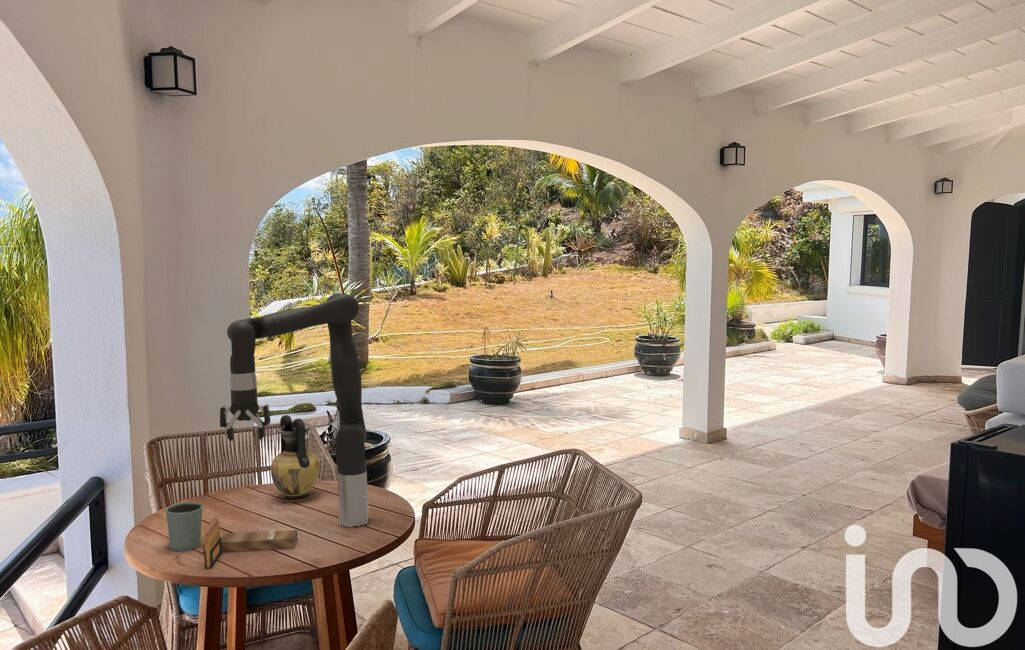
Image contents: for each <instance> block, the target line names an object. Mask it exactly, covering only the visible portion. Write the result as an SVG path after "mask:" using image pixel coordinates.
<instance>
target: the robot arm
mask: <svg viewBox="0 0 1025 650" xmlns="http://www.w3.org/2000/svg"><path fill="white" fill-rule="evenodd" d="M359 311H360V305H359V302H358V300H357V299H356V298H355V297H354V296H352V295H351V294H348V293H340V292H339V293H338V292H337V293H332V294H331V295H330V296H329V297H327V298H326V300H325V302H322V303H319V304H315V305H311V306H305V307H300V308H299V307H298V308H292V309H287V310H286V309H285V310H282V311H281V310H280V311H276V312H272V313H268V314H265V315H262V316H256V317H248V318H244V319H238V320H235V321H233V322H232V323H230V324H229V325H228V327H227V330H226V334H227V337H228V339H229V340H230V342H231V345H230V346H231V355H230V357H229V365H230V366H229V368H230V369H229V371H230V376H229V377H230V379H229V388H230V406H225V405H223V406H222V407H221V408H220V409H219V426H220V428H225V429H226V435H227V439H228V440H229V442H233V441H234V439H235V437H234V427H233V425H234V424H235V423H236V422H237V421H239V422H242V421H243V422H244V421H247V422H249V421H251V420H252V422H253V423H254V424H256V426H258V428H257V431H258V440H260V441H261V440H263V438H264V437H265V427H266V426H269V425H270V424H271V414H270V405H269V404H264V405H259V403H258V386H257V385H258V383H257V382H258V380H257V374H256V360H255V352H256V342H257V341H256V340H258V339H261V338H274V337H277V336H282V335H285V334H290V333H294V332H297V331H301V330H304V329H308V328H311V327H315V326H321V325H326V324H327V328H328V329H327V330H328V334H329V353H330V354H329V355H330V368H331V380H332V382H331V383H332V386H333V390H334V391H333V392H334V395H335V397H336V400H337V404H338V409H339V426H338V427H339V428H338V431H337V432H336V434H335V440H334V442H335V443H334V445H335V460H336V467H337V485H338V486H337V490H338V514H339V516H338V521H339V526H341V525H342V526H341V527H344V526H345V527H344V528H354V527H353V526H358V527H361V526H360V525H362V526H365V525H364V524H367V525H368V524H369V518H370V517H369V514H370V513H369V491H368V475H367V474H368V471H367V465H368V464H367V462H366V450H365V449H366V445H365V444H366V443H365V442H366V439H367V429H366V424H365V419H364V413H363V412H364V411H363V406H362V395H363V392H362V390H363V389H362V387H363V386H362V370H361V363H360V357H359V353H358V351H357V348H356V344H355V341H354V339H353V332H352V321H353V320H354V319H355V318H357V316H358V314H359ZM259 411H260V412H261V413H262V414H263V418H264V419H263V420H264V421H263V420H262V419H261V417H260V416H259V415H258V412H259ZM229 412H230V413H231V415H232V417H231V419H230V420H229V422H227V414H229ZM351 526H352V527H351Z"/></svg>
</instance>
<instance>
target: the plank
mask: <svg viewBox="0 0 1025 650" xmlns="http://www.w3.org/2000/svg"><path fill="white" fill-rule="evenodd" d="M220 537H221V546H222V553H234V552H250V551H251V552H252V551H255V552H256V551H269V550H270V551H272V550H273V549H274V550H287V549H289V550H290V549H294V548H295V547H296V544H297V543H298V539H299V538H298V529H293V530H290V529H289V530H277V529H276V530H275V529H273V530H270V531H255V532H254V531H252V532H236V533H235V532H233V533H224V532H220ZM271 549H272V550H271ZM202 550H203V552H202V553H203V554H204V551H205V541H204V542H203V544H202Z"/></svg>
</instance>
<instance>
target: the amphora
mask: <svg viewBox="0 0 1025 650" xmlns="http://www.w3.org/2000/svg"><path fill="white" fill-rule="evenodd" d="M279 421H280V422H279V427H278V428H277V429H276V432H277V433H279V434H280V441H281V442H280V443H281V445H280V446H281V448H280V450H281V451H280V453H278V454H277V455H276V456H275V457H274V458H273V459H272V462H271V465H270V474H271V475H270V476H271V479H272V482H273V484H274V485H275V487H276V489H278V491H280V493H282V494H283V495H284V496H283V499H284V501H285V502H293V503H295V502H302V501H305V500H308V499H309V498H310V497H311V493H310V492H311V490H312V489H313V488H314V486H315V485H316V483H317V481H318V479H319V476H320V468H321V467H320V465H321V464H320V460H319V457H318V455H317V454H316V453H314V452H313V451H311V450H309V449H306V448H307V447H306V434H307V432H308V431H309V430H310V429H311V426H310V425H307V424H305V422H304V420H303V419H301V418H295V419H294V420H293V421H292V417H291V415H288V414H285V415H282V416H281V417H280V420H279Z"/></svg>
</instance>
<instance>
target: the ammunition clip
mask: <svg viewBox="0 0 1025 650" xmlns="http://www.w3.org/2000/svg"><path fill="white" fill-rule="evenodd" d="M219 523H220V522H219V518H218V515H215V516H214V517H213V518H212V519H211V521H210V523H208V524H207V526H206V527H205V533H204V535H205V539H204V542H205V551H204V553H203V554H204V569H213V567H214V566H215V564H216V563H217V562H218V560H219V559H220V557H221V555H222V554H223V552H222V546H221V537H220V533H221V530H220V529H221V528H220V524H219Z"/></svg>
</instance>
